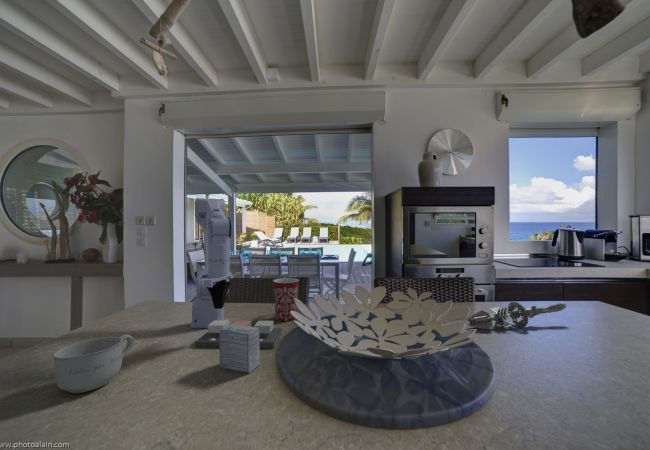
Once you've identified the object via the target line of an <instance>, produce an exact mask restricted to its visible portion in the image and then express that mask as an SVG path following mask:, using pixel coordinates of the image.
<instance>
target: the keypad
mask: <svg viewBox="0 0 650 450" xmlns="http://www.w3.org/2000/svg"><path fill="white" fill-rule="evenodd" d="M282 330H283V328H282V327H274V328H273V329H272V331H271V333H259V347H260V349H275V347H276V345H277V344H278V342H279V339H280V338H281V335H282V334H283V331H282ZM194 344H195V348H215V349H216V348H219V349H220V333H208V331H207V332H205V334H203V335H202V336H201V337H199V338H198V339H197V340H196V341H195V343H194Z"/></svg>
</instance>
